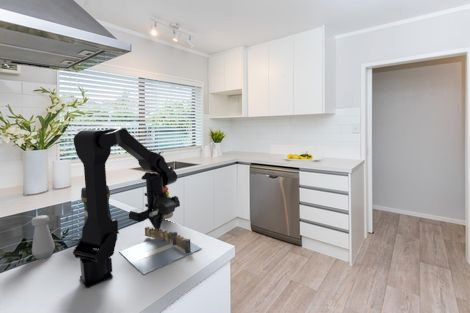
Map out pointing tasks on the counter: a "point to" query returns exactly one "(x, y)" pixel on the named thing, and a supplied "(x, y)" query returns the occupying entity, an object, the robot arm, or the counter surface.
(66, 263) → the counter surface
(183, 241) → the fixed fence section
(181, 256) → the card
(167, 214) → the stacking toy
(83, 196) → the coffee jar
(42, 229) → the salt shaker
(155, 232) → the folding fence panel
